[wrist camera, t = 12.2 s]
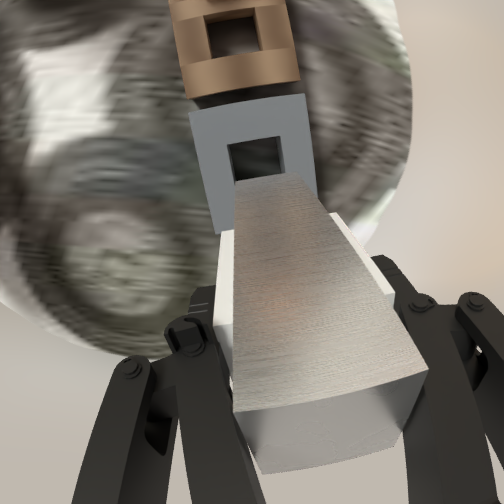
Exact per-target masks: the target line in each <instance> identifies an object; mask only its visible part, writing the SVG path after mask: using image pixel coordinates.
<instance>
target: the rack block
mask: <svg viewBox="0 0 504 504" xmlns="http://www.w3.org/2000/svg"><path fill="white" fill-rule="evenodd" d="M188 114H189V119H190V124H191V128H192V133H193V138H194V142H195V147H196V151H197V156H198V160H199V165H200V169H201V174H202V178H203V183H204V187H205V191H206V196H207V200H208V204H209V208H210V213H211V217H212V221H213V225H214V229H215V233H216V234H221V233H222V231H228V230H233V229H234V213H235V181H236V177H235V172H234V167H233V162H232V157H231V152H230V147H229V144H233V143H238V142H244V141H250V140H256V139H262V138H268V137H276V143H277V149H278V156H279V163H280V169H281V174H283V173H289V172H296V171H297V173H298V174H299V175H300V176H301V178H302V179H303V180H304V182H305V183H306V184H307V185H308V187H309V188H310V189H311V191H312V192H313V193H314V195H315V196H316V197H317V198H318V195H317V185H316V176H315V167H314V158H313V149H312V141H311V134H310V126H309V119H308V112H307V105H306V99H305V93H303V94H293V95H284V96H276V97H269V98H262V99H255V100H249V101H243V102H237V103H232V104H226V105H221V106H216V107H211V108H207V109H202V110H197V111H193V112H189V113H188Z"/></svg>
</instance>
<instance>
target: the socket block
mask: <svg viewBox="0 0 504 504" xmlns="http://www.w3.org/2000/svg"><path fill="white" fill-rule="evenodd" d="M168 2H169V7H170V13H171V19H172V24H173V30H174V35H175V41H176V46H177V51H178V57H179V62H180V67H181V72H182V77H183V82H184V87H185V92H186V97H187V99H196V98H200V97H205V96H210V95H214V94H219V93H225V92H230V91H235V90H241V89H247V88H254V87H260V86H267V85H275V84H283V83H292V82H297V81H300V74H299V68H298V63H297V57H296V52H295V46H294V41H293V36H292V31H291V26H290V22H289V17H288V12H287V8H286V3H285V0H168ZM245 17H253V20H254V25H255V30H256V35H257V40H258V45H259V50H260V51H257V52H250V53H243V54H237V55H231V56H226V57H220V58H215V59H213V54H212V49H211V44H210V39H209V34H208V29H207V24H210V23H215V22H220V21H226V20H232V19H238V18H245Z"/></svg>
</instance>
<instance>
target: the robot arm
mask: <svg viewBox="0 0 504 504" xmlns="http://www.w3.org/2000/svg"><path fill="white" fill-rule="evenodd" d="M329 215H330V216H331V217H332V219H333V220H334V221H335V223H336V224H337V225H338V227H339V228H340V230H341V231H342V232H343V234H344V235H345V237H346V238H347V239H348V241H349V242H350V244H351V245H352V247H353V248H354V249H355V251H356V252H357V254H358V255H359V257H360V258H361V260H362V261H363V263H364V264H365V266H366V267H367V269H368V270H369V271H370V273H371V274H372V276H373V278H374V279H375V281H376V282H377V284H378V285H379V287H380V288H381V290H382V291H383V293H384V294H385V296H386V298H387V299H388V301H389V302H390V304H391V305H392V307H393V309H394V310H395V312H396V314H397V315H398V317H399V318H400V320H401V322H402V323H403V325H404V327H405V328H406V330H407V332H408V333H409V335H410V337H411V338H412V340H413V342H414V344H415V345H416V347H417V349H418V351H419V352H420V354H421V356H422V358H423V359H424V361H425V363H426V365H427V367H428V368H429V370H428V373H427V375H426V378H425V380H424V383H423V385H422V388H421V390H420V393H419V395H418V397H417V400H416V402H415V404H414V406H413V409H412V411H411V413H410V415H409V417H408V419H407V421H406V423H405V426H404V428H403V430H402V431H403V439H404V447H405V457H406V468H407V480H408V497H409V504H501V503H500V502H499V500H498V497H497V491H496V484H495V478H494V473H493V467H492V462H491V458H490V453H489V449H488V444H487V440H486V436H487V437H488V439H489V441H490V443H491V445H492V447H493V449H494V451H495V453H496V455H497V457H498V459H499V461H500V463H501V465H502V467H503V469H504V315H503V314H502V313H501V312H500V311H499V310H498V309H497V308H496V306H495V305H494V304H493V303H492V302H490V300H489V299H488V298H486V297H485V296H484V295H482V294H479V293H477V292H468V293H464V294H463V295H461V296H460V298H459V300H458V304H456V305H438V304H437V302H436V301H435V300H434V299H433V298H432V297H430V296H429V295H426V294H421V293H418V292H417V291H416V290H415V288H414V287H413V286H412V284H411V283H410V282H409V281H408V279H407V278H406V277H405V276H404V274H402V272H401V270H400V269H398V267H397V265H396V264H395V263H394V262H393V261H392V260H391V259H389V258H388V257H385V256H384V255H379V256H373V257H370V256H369V255H368V253H367V252H366V251H365V249H364V248H363V247H362V245H361V244H360V243H359V241H358V240H357V239H356V237H355V236H354V235H353V234H352V232H351V231H350V230H349V228H348V227H347V226H346V225H345V223H344V222H343V221H342V219H341V218H340V217H339V216H338V214H337V213H336V212H335V213H329ZM233 268H234V229H233V230H228V231H222V233H221V242H220V252H219V262H218V272H217V283H216V285H213V286H207V287H200V288H197V289H196V291H195V292H194V293H193V295H192V296H191V300H190V307H189V310H188V315H185V316H181V317H179V318H176V319H175V320H173V321H172V322H171V323H169V325H168V326H167V327H166V328H165V332H164V336H165V338H166V340H167V342H168V345H169V347H170V349H171V351H172V353H173V354H171V355H170V356H168V357H165V358H163V359H160V360H157V361H154V362H152V363H150V362H149V360H148V359H147V358H145V357H144V356H139V355H135V356H130V357H128V358H125V359H123V360H122V361H121V362H120V363H119V364H118V365H117V366H116V368H115V369H114V372H113V374H112V377H111V379H110V382H109V385H108V388H107V390H106V393H105V396H104V398H103V402H102V404H101V407H100V410H99V413H98V416H97V418H96V421H95V425H94V427H93V430H92V434H91V437H90V440H89V443H88V446H87V450H86V453H85V456H84V460H83V463H82V466H81V470H80V473H79V477H78V481H77V484H76V488H75V491H74V496H73V500H72V504H166V500H167V493H168V485H169V477H170V471H171V464H172V456H173V450H174V444H175V438H176V431H177V425H178V419H179V421H180V430H181V437H182V445H183V452H184V458H185V465H186V472H187V478H188V484H189V489H190V495H191V500H192V504H266V502H265V499H264V496H263V493H262V490H261V487H260V483H259V480H258V477H257V474H256V471H255V468H254V465H253V461H252V458H251V455H250V452H249V448H248V445H247V442H246V440H245V437H244V435H243V433H242V431H241V429H240V427H239V425H238V422H237V420H236V418H235V416H234V413H233V392H232V390H231V387H230V381H229V380H230V376H231V379H232V382H233ZM477 346H479V348H480V349H481V350H482V353H480V352H479V351H478V350H477V349H476V348H477ZM485 434H486V436H485Z"/></svg>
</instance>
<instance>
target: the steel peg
mask: <svg viewBox="0 0 504 504" xmlns="http://www.w3.org/2000/svg"><path fill="white" fill-rule="evenodd" d="M428 370H429V368H428V367H427V365H426V363H425V361H424V359H423V358H422V356H421V354H420V352H419V351H418V349H417V347H416V345H415V344H414V342H413V340H412V338H411V337H410V335H409V333H408V332H407V330H406V328H405V327H404V325H403V323H402V322H401V320H400V318H399V317H398V315H397V314H396V312H395V310H394V309H393V307H392V305H391V304H390V302H389V301H388V299H387V298H386V296H385V294H384V293H383V291H382V290H381V288H380V287H379V285H378V284H377V282H376V281H375V279H374V278H373V276H372V274H371V273H370V271H369V270H368V269H367V267H366V266H365V264H364V263H363V261H362V260H361V258H360V257H359V255H358V254H357V252H356V251H355V249H354V248H353V247H352V245H351V244H350V242H349V241H348V239H347V238H346V237H345V235H344V234H343V232H342V231H341V230H340V228H339V227H338V225H337V224H336V223H335V221H334V220H333V219H332V217H331V216H330V215H329V213H328V212H327V210H326V209H325V208H324V206H323V205H322V204H321V202H320V201H319V200H318V198H317V197H316V196H315V195H314V193H313V192H312V191H311V189H310V188H309V187H308V185H307V184H306V183H305V182H304V180H303V179H302V178H301V176H300V175H299V174H298V173H297V171H296V172H289V173H283V174H276V175H270V176H264V177H258V178H252V179H246V180H241V181H235V213H234V268H233V413H234V416H235V418H236V420H237V422H238V425H239V427H240V429H241V431H242V433H243V435H244V437H245V440H246V442H247V444H248V446H249V448H250V450H251V452H252V454H253V456H254V458H255V460H256V462H257V464H258V466H259V468H260V470H261V472H262V474H272V473H280V472H287V471H293V470H300V469H306V468H312V467H317V466H322V465H327V464H332V463H336V462H340V461H345V460H348V459H353V458H357V457H360V456H363V455H368V454H371V453H374V452H378V451H381V450H384V449H388V448H391V447H394V445H395V443H396V441H397V439H398V437H399V435H400V433H401V432H402V430H403V428H404V426H405V423H406V421H407V419H408V417H409V415H410V413H411V411H412V409H413V406H414V404H415V402H416V400H417V397H418V395H419V393H420V390H421V388H422V385H423V383H424V380H425V378H426V375H427V373H428Z"/></svg>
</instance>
